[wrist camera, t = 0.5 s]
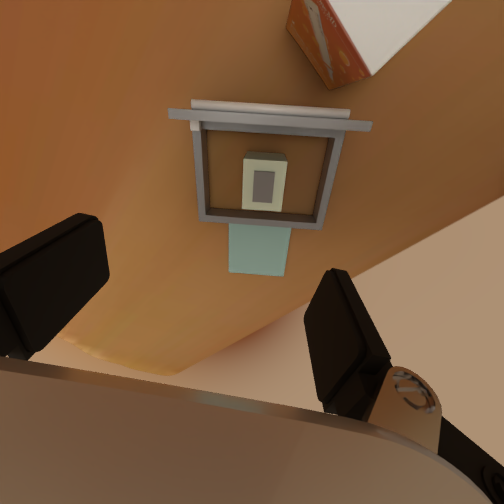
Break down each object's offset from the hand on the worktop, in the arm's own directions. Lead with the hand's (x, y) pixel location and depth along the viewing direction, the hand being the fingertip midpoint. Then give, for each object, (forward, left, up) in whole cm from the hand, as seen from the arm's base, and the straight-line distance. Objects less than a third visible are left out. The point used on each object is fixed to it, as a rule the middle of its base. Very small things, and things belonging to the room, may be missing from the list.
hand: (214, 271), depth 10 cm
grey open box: (-2, +2, -25) cm, 26 cm away
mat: (-2, +14, -25) cm, 29 cm away
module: (-2, +2, -26) cm, 26 cm away
